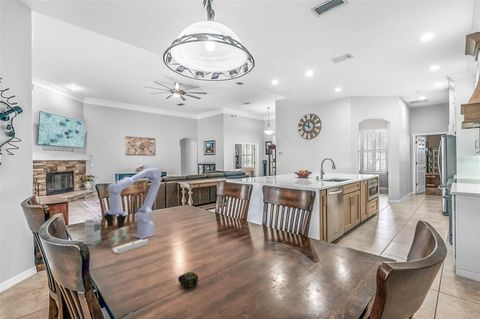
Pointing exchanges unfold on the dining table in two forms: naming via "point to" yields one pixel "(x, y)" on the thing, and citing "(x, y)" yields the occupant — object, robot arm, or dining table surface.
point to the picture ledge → (130, 246)
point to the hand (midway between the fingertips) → (115, 227)
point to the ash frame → (118, 236)
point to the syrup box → (93, 230)
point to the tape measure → (188, 279)
